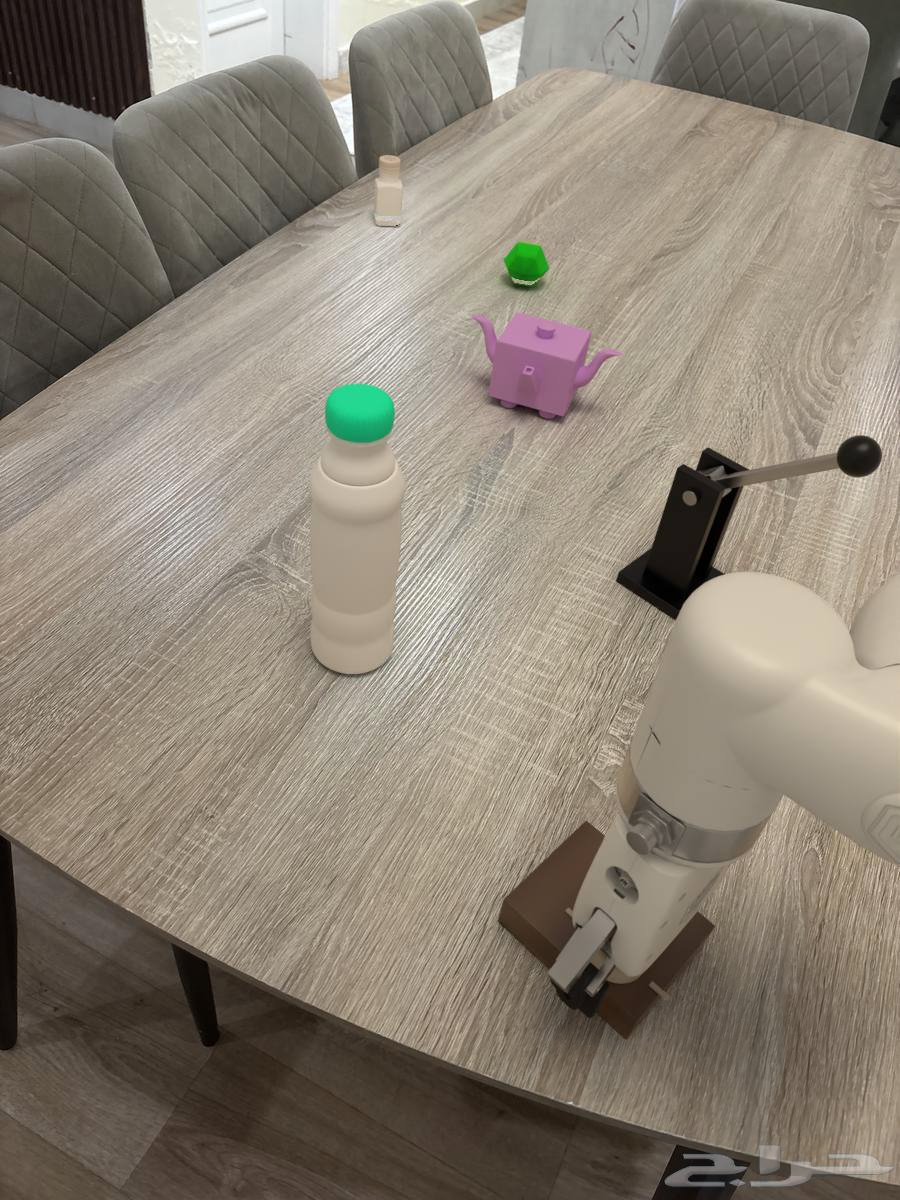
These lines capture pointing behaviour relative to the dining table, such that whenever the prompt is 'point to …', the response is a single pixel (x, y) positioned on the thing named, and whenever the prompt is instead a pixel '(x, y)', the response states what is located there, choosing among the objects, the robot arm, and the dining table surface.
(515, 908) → the tap panel
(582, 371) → the teapot
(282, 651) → the dining table surface
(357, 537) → the water bottle
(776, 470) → the faucet lever
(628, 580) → the black lever stand
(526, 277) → the green faceted polyhedron
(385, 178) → the salt shaker
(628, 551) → the dining table surface
